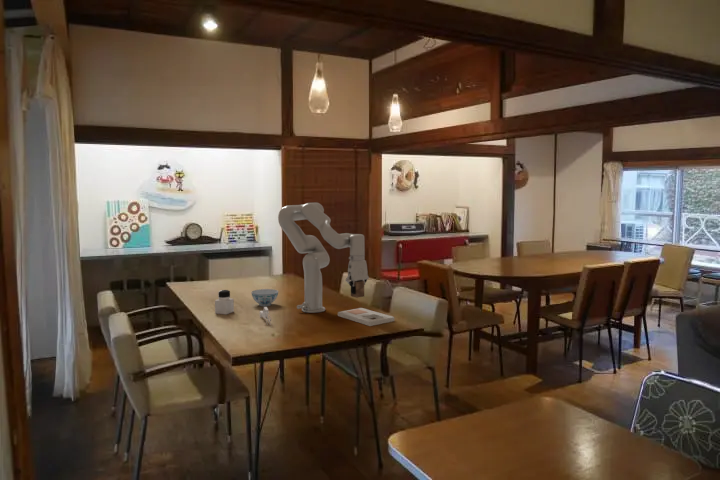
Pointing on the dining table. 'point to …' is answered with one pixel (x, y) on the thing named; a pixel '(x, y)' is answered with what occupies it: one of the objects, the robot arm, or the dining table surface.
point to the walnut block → (359, 289)
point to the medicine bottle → (224, 303)
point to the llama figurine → (265, 314)
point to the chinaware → (264, 296)
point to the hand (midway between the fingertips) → (357, 292)
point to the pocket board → (366, 316)
